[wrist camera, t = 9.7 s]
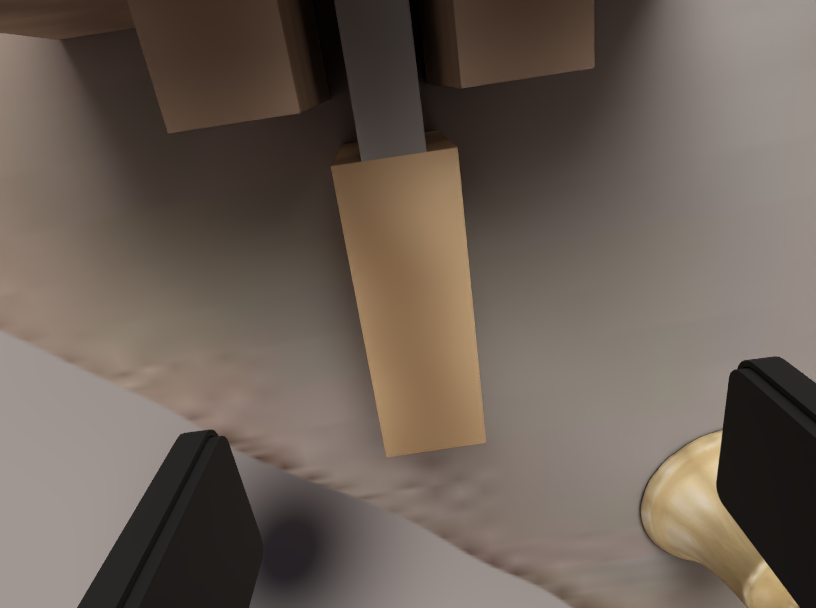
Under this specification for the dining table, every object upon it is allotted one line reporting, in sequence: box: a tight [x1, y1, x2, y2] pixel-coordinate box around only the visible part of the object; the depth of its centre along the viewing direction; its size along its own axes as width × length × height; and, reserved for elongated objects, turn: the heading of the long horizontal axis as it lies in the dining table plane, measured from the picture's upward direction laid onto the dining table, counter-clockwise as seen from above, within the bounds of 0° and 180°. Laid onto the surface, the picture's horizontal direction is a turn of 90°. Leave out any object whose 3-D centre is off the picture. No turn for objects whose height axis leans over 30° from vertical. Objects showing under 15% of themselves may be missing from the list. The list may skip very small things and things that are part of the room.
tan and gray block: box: [331, 0, 486, 457], centre depth 18 cm, size 4×14×5 cm, turn 8°
